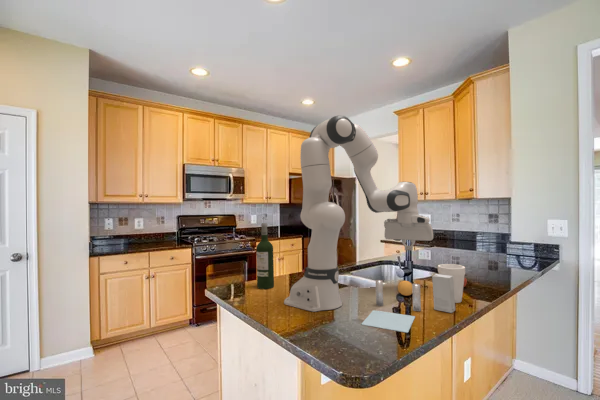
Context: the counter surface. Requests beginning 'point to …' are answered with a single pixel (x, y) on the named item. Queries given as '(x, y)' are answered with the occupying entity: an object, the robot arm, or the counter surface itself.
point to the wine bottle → (265, 261)
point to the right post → (416, 297)
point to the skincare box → (443, 293)
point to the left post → (379, 292)
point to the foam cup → (454, 278)
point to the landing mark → (389, 321)
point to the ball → (405, 288)
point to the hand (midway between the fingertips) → (408, 250)
